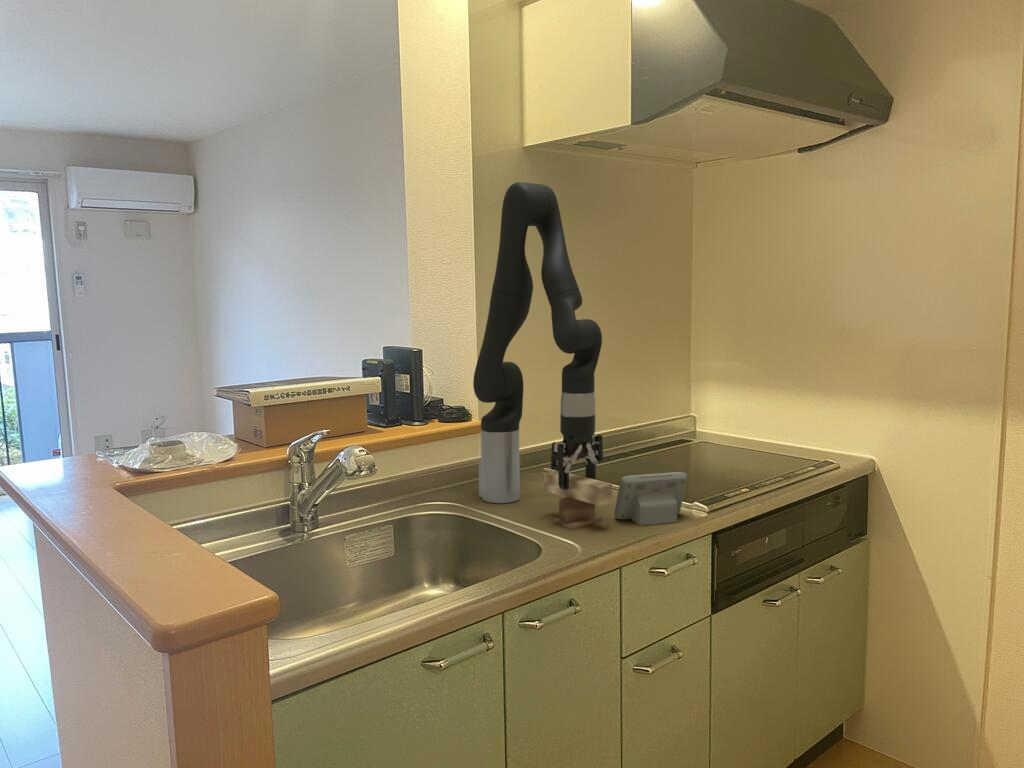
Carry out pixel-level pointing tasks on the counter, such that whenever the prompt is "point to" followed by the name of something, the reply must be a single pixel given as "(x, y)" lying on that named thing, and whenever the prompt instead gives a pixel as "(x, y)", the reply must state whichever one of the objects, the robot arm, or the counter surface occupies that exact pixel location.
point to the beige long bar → (580, 488)
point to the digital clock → (651, 498)
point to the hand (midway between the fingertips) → (577, 485)
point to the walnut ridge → (575, 513)
